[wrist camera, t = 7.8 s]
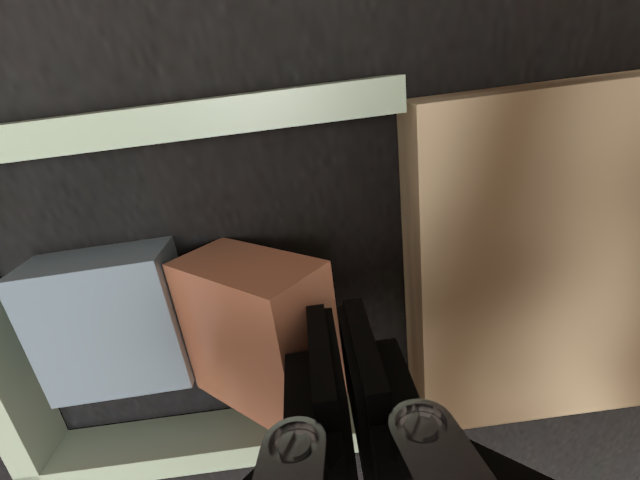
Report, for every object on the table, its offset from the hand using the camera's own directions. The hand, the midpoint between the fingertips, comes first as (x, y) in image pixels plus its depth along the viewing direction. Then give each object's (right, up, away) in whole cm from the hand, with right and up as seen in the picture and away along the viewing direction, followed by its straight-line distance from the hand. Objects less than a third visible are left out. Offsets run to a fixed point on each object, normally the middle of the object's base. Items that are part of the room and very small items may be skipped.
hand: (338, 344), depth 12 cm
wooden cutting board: (+12, +3, +4) cm, 13 cm away
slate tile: (-8, 0, +2) cm, 8 cm away
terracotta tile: (-2, +1, +2) cm, 3 cm away
